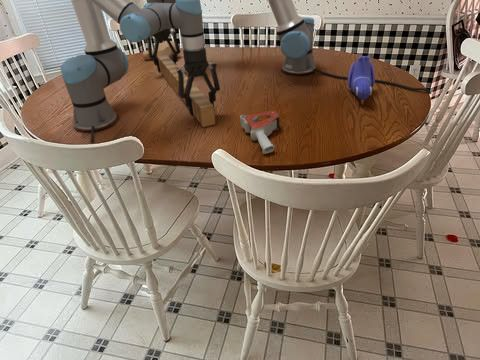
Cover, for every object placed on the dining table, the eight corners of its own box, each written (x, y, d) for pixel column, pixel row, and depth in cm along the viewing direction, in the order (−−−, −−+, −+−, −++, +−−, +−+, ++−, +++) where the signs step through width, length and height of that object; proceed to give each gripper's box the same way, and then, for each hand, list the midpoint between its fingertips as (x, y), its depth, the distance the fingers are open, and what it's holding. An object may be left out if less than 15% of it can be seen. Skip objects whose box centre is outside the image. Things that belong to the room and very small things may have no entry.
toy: (345, 95, 151) (349, 109, 128) (348, 53, 144) (352, 60, 122) (370, 95, 149) (378, 108, 126) (374, 52, 142) (383, 59, 120)
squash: (180, 60, 189) (175, 44, 182) (144, 67, 191) (138, 52, 184) (182, 51, 196) (177, 35, 190) (147, 58, 198) (141, 42, 192)
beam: (215, 124, 127) (213, 105, 123) (203, 127, 126) (200, 108, 121) (169, 69, 177) (167, 54, 173) (160, 71, 176) (157, 56, 172)
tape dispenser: (269, 161, 108) (297, 129, 121) (269, 147, 105) (298, 115, 117) (221, 145, 116) (252, 116, 128) (220, 131, 112) (252, 103, 125)
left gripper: (218, 40, 123) (224, 102, 136) (161, 50, 117) (172, 114, 130) (226, 45, 117) (231, 109, 131) (166, 56, 111) (178, 122, 125)
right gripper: (178, 14, 162) (185, 64, 176) (134, 20, 156) (145, 71, 170) (183, 17, 157) (190, 68, 170) (137, 24, 151) (148, 76, 164)
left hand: (202, 111), depth 130 cm, fingers open, 7 cm apart
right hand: (167, 70), depth 170 cm, fingers open, 7 cm apart
